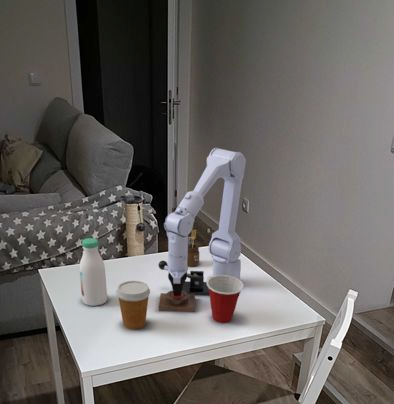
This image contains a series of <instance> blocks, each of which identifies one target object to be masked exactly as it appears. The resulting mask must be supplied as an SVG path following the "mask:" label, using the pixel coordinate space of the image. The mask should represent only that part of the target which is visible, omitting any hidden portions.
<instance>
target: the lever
mask: <svg viewBox="0 0 394 404" xmlns="http://www.w3.org/2000/svg"><path fill="white" fill-rule="evenodd" d="M157 266H158V268H159V270H162V271H165V270H164V267H165V266H168V262H167V261H166V260H160V261H159V262H158V265H157ZM190 276H200V275H198V274H195V273H194V275H191V274H190V273H188V272H187V279H190Z"/></svg>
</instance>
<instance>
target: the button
mask: <svg viewBox="0 0 394 404" xmlns="http://www.w3.org/2000/svg"><path fill="white" fill-rule="evenodd" d="M171 297H173V298H183V297H184V294H183V293H181V296H174V294H173V293H172V294H171Z"/></svg>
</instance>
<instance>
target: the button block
mask: <svg viewBox="0 0 394 404" xmlns="http://www.w3.org/2000/svg"><path fill="white" fill-rule="evenodd" d="M172 293H173V290H169V291H168V292H166V293H165V292H160V296H159V302H158V312H177V313H195V310H196V295H195V294H188V293H187V292H185V291H182V293H183V294H184V297H183V298H173V297H171V294H172Z"/></svg>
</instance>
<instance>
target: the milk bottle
mask: <svg viewBox="0 0 394 404" xmlns="http://www.w3.org/2000/svg"><path fill="white" fill-rule="evenodd" d="M81 243H82V249H83V252H82V257H81V258H80V262H79V279H80V289H81V290H80V292H81V301H82V302H83V304H85V305H87V306H91V307H93V306H96V307H97V306H101V305H104V304H105V303H106V302H107V301H108V287H107V275H106V274H107V273H106V266H105V262H104V259H103V258H102V256H101V254H100V252H99V240H98V239H97V238H94V237H88V238H84V239H83V240H82V242H81Z"/></svg>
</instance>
